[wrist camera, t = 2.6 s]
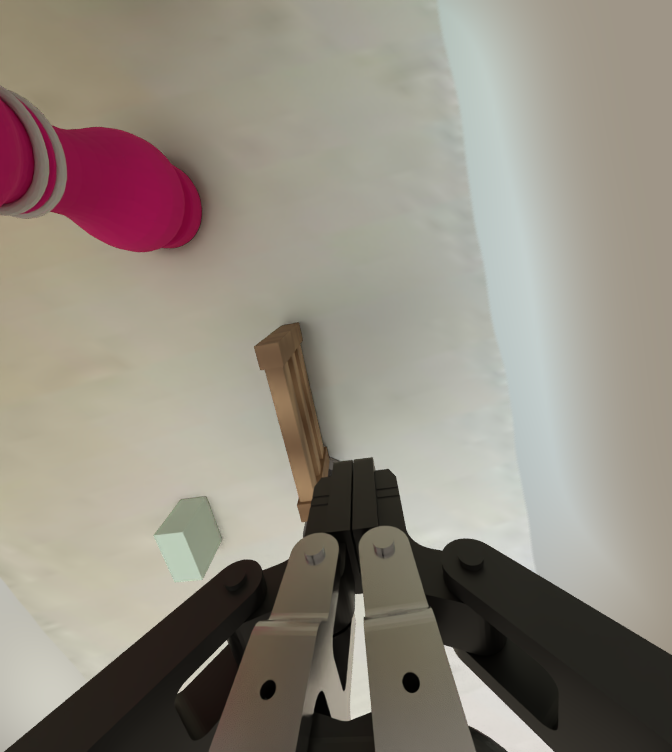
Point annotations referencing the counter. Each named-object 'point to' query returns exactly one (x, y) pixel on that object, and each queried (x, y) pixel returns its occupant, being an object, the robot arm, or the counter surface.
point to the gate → (294, 410)
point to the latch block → (189, 539)
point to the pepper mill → (93, 180)
